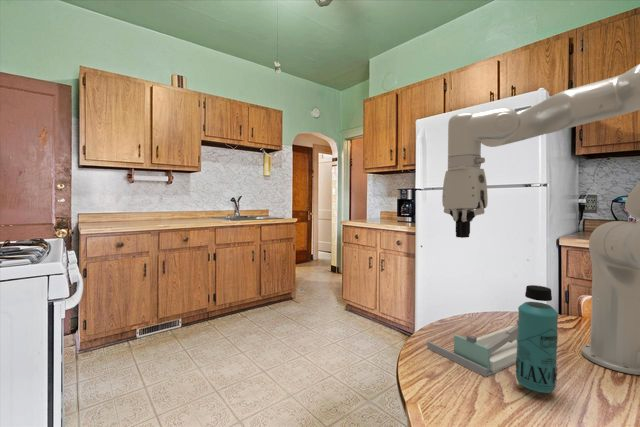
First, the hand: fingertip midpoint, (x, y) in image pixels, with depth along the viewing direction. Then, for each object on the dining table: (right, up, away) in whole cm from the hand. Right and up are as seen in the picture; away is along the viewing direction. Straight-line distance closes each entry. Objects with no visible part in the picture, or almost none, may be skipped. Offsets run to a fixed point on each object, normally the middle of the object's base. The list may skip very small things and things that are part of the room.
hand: (462, 237), depth 80 cm
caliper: (+7, -27, -5) cm, 28 cm away
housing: (+5, -27, -2) cm, 28 cm away
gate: (-3, -27, -11) cm, 29 cm away
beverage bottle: (+5, -28, -20) cm, 35 cm away
